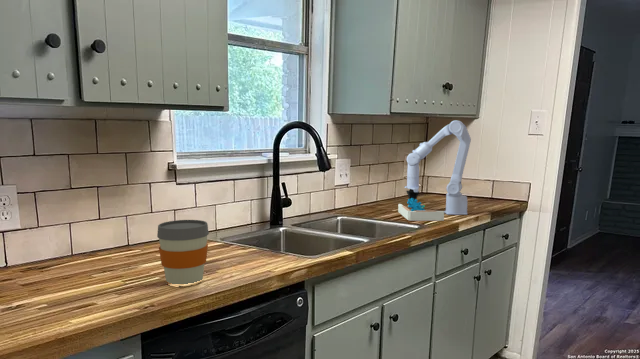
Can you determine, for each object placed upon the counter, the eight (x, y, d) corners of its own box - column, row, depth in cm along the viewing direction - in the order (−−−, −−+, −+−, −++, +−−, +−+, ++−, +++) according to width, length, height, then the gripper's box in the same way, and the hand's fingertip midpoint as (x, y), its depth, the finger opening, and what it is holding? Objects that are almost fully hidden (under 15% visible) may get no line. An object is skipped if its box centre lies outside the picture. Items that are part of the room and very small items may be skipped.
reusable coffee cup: (191, 271, 126) (190, 217, 125) (219, 280, 118) (218, 223, 117) (149, 282, 117) (147, 224, 115) (176, 293, 109) (175, 231, 107)
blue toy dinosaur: (414, 213, 209) (405, 196, 215) (407, 221, 212) (398, 204, 218) (431, 214, 215) (421, 197, 221) (423, 221, 219) (414, 205, 224)
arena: (430, 211, 223) (430, 203, 222) (443, 220, 200) (444, 210, 200) (398, 211, 222) (398, 203, 222) (408, 220, 200) (408, 211, 199)
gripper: (401, 176, 231) (401, 202, 232) (408, 179, 216) (407, 207, 218) (415, 176, 231) (415, 202, 232) (422, 179, 217) (422, 207, 218)
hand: (412, 205), depth 225 cm, fingers closed
